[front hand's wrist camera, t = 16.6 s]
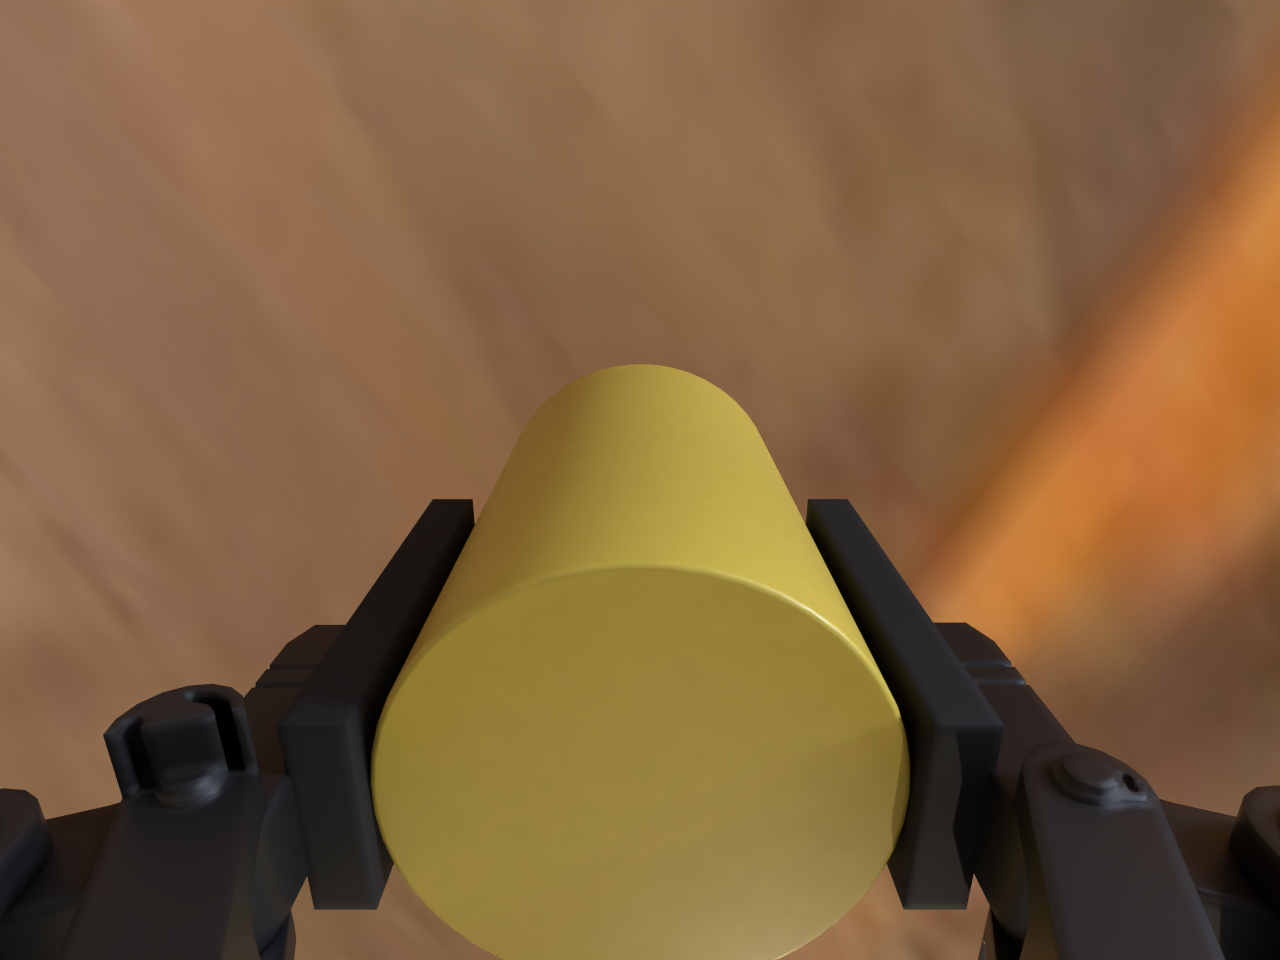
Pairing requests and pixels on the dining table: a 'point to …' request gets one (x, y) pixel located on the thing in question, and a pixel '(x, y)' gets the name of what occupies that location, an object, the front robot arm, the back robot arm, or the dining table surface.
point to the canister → (640, 700)
